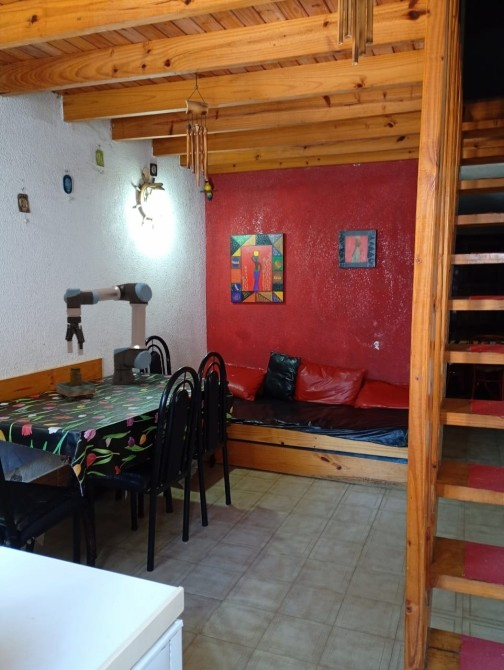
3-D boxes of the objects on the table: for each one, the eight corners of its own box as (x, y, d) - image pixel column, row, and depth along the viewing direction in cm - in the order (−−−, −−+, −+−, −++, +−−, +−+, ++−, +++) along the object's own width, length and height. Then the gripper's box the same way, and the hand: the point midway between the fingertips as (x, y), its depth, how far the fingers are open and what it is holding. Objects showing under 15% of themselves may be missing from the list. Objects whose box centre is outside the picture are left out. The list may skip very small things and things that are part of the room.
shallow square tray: (82, 393, 309) (81, 380, 309) (95, 398, 297) (95, 384, 296) (56, 397, 299) (56, 383, 299) (69, 402, 287) (68, 387, 286)
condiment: (80, 387, 302) (79, 366, 301) (85, 389, 296) (84, 368, 295) (67, 389, 298) (66, 367, 297) (72, 391, 291) (71, 369, 290)
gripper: (58, 315, 301) (59, 352, 303) (77, 317, 283) (78, 356, 285) (71, 314, 306) (72, 351, 308) (90, 316, 288) (91, 355, 290)
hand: (75, 354), depth 297 cm, fingers open, 13 cm apart
